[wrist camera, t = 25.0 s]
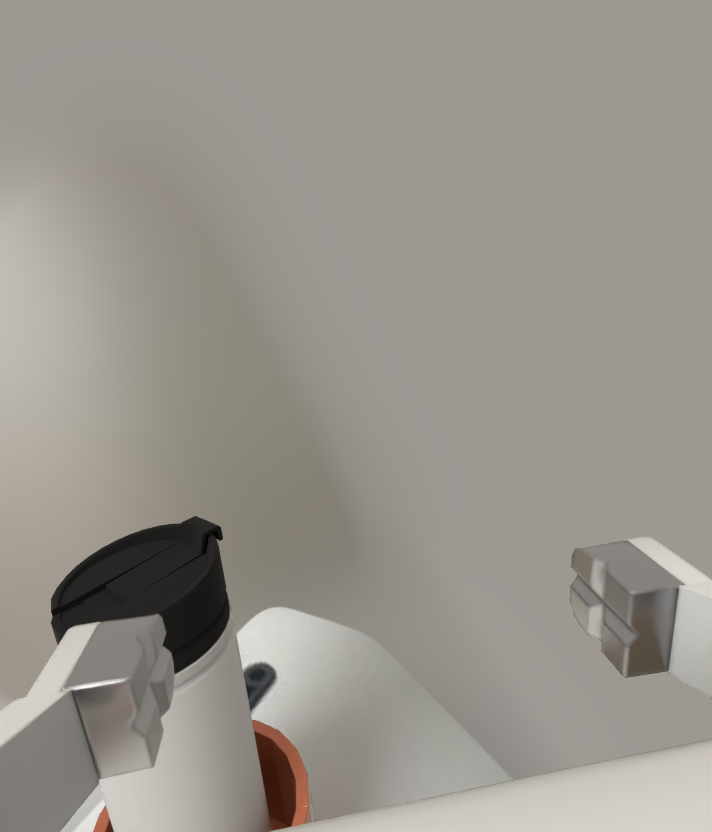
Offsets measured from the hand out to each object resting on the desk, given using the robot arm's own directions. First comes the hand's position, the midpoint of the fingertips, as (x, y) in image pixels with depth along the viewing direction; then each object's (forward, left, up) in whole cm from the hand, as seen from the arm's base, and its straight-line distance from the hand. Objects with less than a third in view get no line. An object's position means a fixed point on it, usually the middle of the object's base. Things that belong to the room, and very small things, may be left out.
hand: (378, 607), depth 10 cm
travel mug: (+4, -11, -24) cm, 27 cm away
